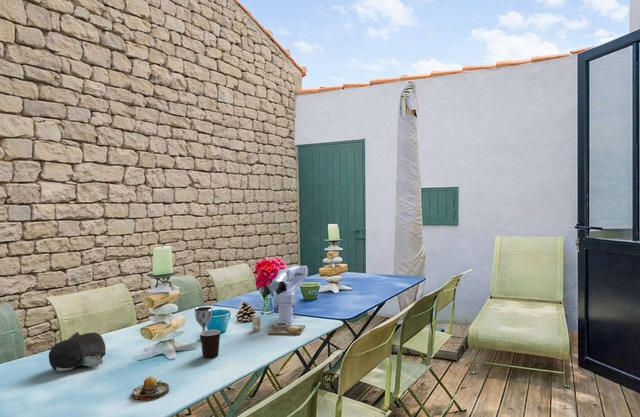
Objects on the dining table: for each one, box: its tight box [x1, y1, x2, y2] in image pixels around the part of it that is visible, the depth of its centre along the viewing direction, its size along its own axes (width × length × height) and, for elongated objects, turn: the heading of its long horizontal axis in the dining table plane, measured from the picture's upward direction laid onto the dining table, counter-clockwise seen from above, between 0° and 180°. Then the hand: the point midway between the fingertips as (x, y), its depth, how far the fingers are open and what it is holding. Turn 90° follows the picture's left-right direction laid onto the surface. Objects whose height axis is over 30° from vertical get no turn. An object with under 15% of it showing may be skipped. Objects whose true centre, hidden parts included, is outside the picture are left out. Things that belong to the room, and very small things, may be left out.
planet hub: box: [251, 315, 262, 333], centre depth 224 cm, size 4×4×7 cm
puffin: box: [48, 331, 106, 372], centre depth 178 cm, size 20×21×13 cm
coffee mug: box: [199, 329, 221, 360], centre depth 189 cm, size 12×9×10 cm
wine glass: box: [194, 306, 213, 343], centre depth 210 cm, size 8×8×15 cm
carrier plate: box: [267, 322, 306, 336], centre depth 222 cm, size 14×16×3 cm
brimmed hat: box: [131, 376, 170, 402], centre depth 151 cm, size 12×12×8 cm
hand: (270, 294), depth 220 cm, fingers open, 7 cm apart
